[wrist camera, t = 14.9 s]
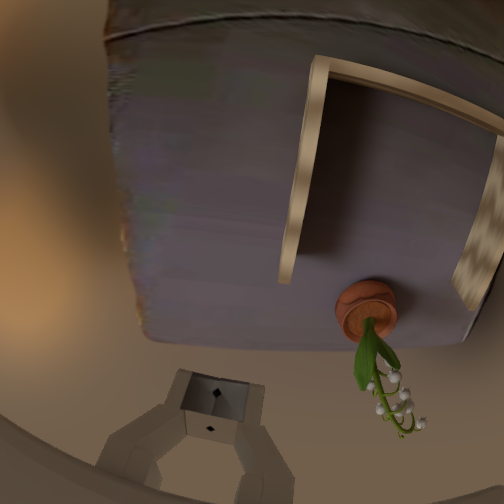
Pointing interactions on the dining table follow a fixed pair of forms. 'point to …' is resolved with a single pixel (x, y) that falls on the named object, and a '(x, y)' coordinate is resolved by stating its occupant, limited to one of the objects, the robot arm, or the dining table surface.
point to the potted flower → (374, 343)
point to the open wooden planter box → (500, 175)
